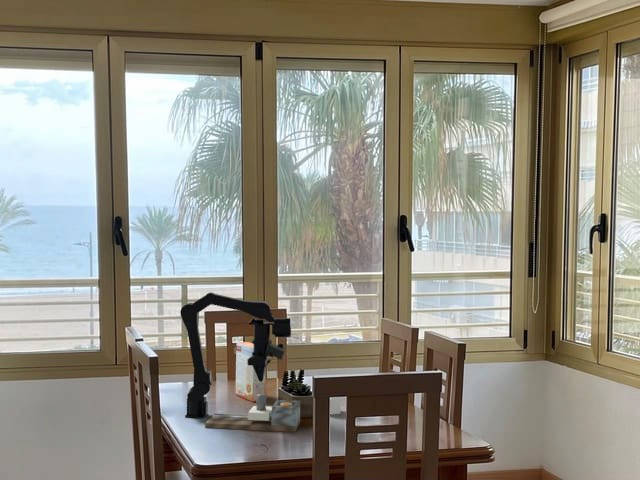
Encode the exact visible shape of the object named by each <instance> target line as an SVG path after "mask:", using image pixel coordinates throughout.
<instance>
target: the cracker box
mask: <svg viewBox="0 0 640 480" xmlns="http://www.w3.org/2000/svg"><path fill="white" fill-rule="evenodd" d="M235 346H236V351H235V352H236V353H235V356H236V358H235V394H234V395H235V396H237V397H240V398H242V399H244V400H247V401H250V402H257V394H266V373H265V374H264V378H263V381H262V382H260V381H259V379H258V377H257V375H256V372H255V370H254V368H253V366H251V365H248V359H249V358H250V357H251V356H252V352H253V348H254V344H252V342H249V341H243V342H241V341H240V342H236V345H235Z"/></svg>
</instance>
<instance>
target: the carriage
mask: <svg viewBox="0 0 640 480" xmlns="http://www.w3.org/2000/svg"><path fill="white" fill-rule="evenodd" d="M247 415H248V420H263V421H269V420H270V419H271V417H272V406H267V394H266V393H265V394H257V401H256V405H253V406H252V407H251V408H250V409H249V411H248V412H247Z"/></svg>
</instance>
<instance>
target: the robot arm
mask: <svg viewBox="0 0 640 480" xmlns="http://www.w3.org/2000/svg"><path fill="white" fill-rule="evenodd" d="M211 305H212V306H218V307H222V308H227V309H231V310H235V311H240V312H243V313H246V314H248V315H250V316H251V317H252V318H251V320H250V321H248V325H252V326H253V340H252V342H251V343H252V344H254V348H253V352H252V356H251V357H250V358H249V359H248V365H251V366H253V368H254V370H255V372H256V375H257V377H258V379H259V381H260V382H262V381H263V378H264V374H265V375H266V371H267V366H268V365H269V364H270V363H271V362H272V360H271V359H268V357H271V358H272V359H274V358H277V360H281V361H282V360H283V359H284V357H285V354H286V351H287V349H286V348H285V344H284V343H282V342H279V344H273V341H272V339H271V334H272V335H273V336H274V337H275V338H291V337H292V327H291V317H283V318H277V317H275V314H273V313H272V311H271V306H270V304H269V302H267V301H265V300H245V299H241V298H236V297H231V296H227V295H221V294H217V293H214V292H212V291H211V292H210V291H209V292H208V293H207V294H205V295H204V296H202V297H200V298H199V299H197V300H195V301H194V302H188V303H187V302H186V304H184V305H183V306H182V307H181V309H180V318H181V319H182V323H183V325H184V327H185V328H186V332H187V337H188V343H189V347H190V348H189V350H190V355H191V360H192V365H193V382H192V383H193V386H192V387H191V388H190V389H189V390H188V393H187V394H186V397H187V398H186V414H185V415H184V417H185V418H198V419H199V418H201V419H202V418H204V417H206V415H208V413H209V402H208V401H207V397H206V395H208V394H209V392H210V390H211V388H212V385H213V382H214V379H213V377H212V369H210V370H208V369H207V367H206V363H205V357H204V353H203V346H202V341H201V336H200V335H201V334H200V329H199V323H200V312H202V311H203V310H205V309H206V308H207V307H209V306H211ZM257 318H258V319H257Z"/></svg>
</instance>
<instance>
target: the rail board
mask: <svg viewBox="0 0 640 480" xmlns="http://www.w3.org/2000/svg"><path fill="white" fill-rule="evenodd" d="M282 402H290V403H292V406H280V403H282ZM271 407H272V417H271V419H270V420H269V421H263V420H248V414H234V413H233V414H231V413H214V414H213V415H212V416H210V418H208V419H207V420H206V421H205V422H204V423H205V424H204V427H205V428H209V429H210V428H211V429H227V430H229V429H231V430H249V431H271V432H287V433H288V432H291V433H296V431H297V429H298V427H299V425H300V423H301V400H291V399H288V400H286V399H276V400H275V402H274V403H273V405H271Z"/></svg>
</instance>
